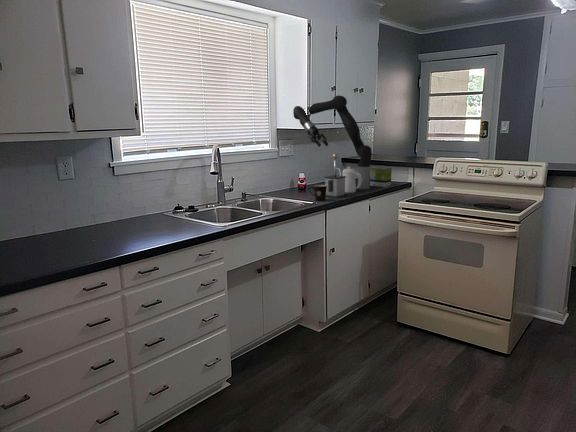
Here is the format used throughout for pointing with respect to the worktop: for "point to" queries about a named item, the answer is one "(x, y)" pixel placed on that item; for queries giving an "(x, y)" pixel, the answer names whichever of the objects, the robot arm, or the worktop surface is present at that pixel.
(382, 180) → the tea box
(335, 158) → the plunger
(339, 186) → the utensil holder
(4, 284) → the worktop surface
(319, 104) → the robot arm
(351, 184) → the coffeepot
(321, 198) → the coffee mug
